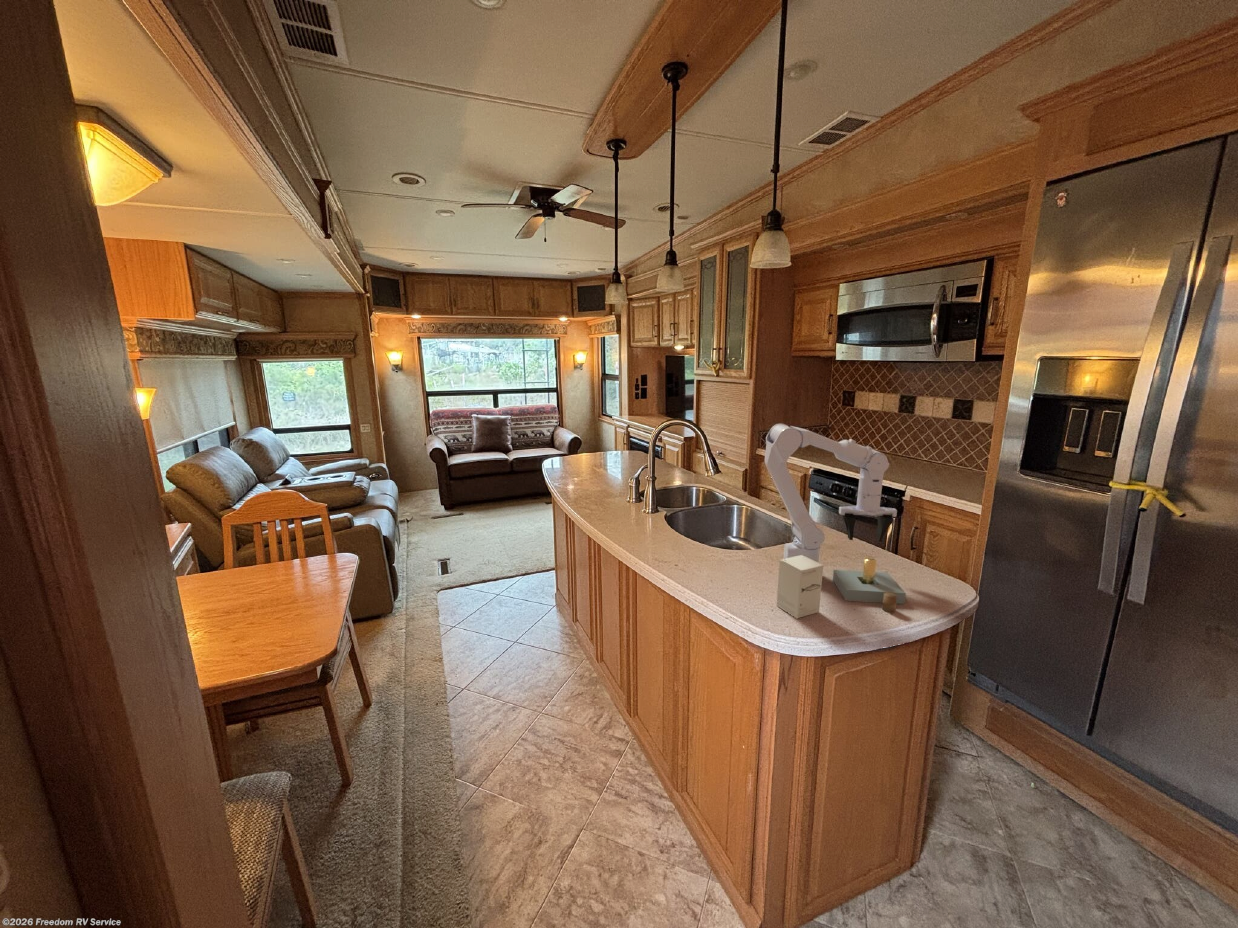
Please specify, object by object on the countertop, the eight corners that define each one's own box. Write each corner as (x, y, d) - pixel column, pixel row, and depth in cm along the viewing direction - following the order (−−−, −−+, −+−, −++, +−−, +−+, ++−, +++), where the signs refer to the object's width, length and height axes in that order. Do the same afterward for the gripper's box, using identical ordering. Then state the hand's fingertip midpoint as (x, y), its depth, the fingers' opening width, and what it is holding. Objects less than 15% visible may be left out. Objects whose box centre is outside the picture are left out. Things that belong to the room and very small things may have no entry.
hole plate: (845, 600, 124) (846, 589, 123) (832, 579, 136) (833, 569, 135) (904, 603, 122) (905, 593, 121) (886, 582, 134) (887, 572, 133)
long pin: (862, 593, 128) (865, 561, 126) (859, 588, 130) (863, 557, 128) (873, 594, 127) (877, 562, 125) (871, 589, 130) (874, 558, 128)
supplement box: (796, 619, 116) (800, 570, 113) (775, 605, 122) (778, 558, 119) (820, 612, 118) (824, 564, 116) (798, 599, 125) (801, 553, 122)
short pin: (884, 612, 118) (886, 597, 117) (880, 606, 121) (882, 591, 120) (896, 613, 118) (898, 598, 117) (892, 607, 121) (894, 592, 120)
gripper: (846, 496, 131) (841, 543, 134) (903, 498, 129) (897, 545, 132) (838, 489, 138) (834, 534, 141) (893, 490, 136) (887, 536, 139)
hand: (864, 539), depth 137 cm, fingers open, 7 cm apart
